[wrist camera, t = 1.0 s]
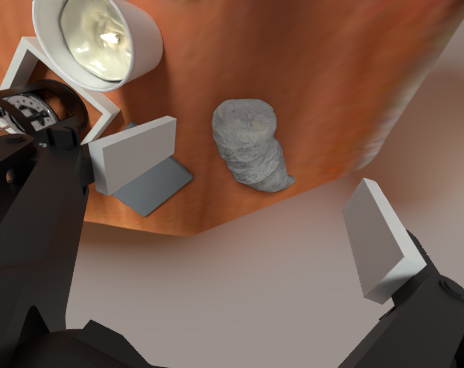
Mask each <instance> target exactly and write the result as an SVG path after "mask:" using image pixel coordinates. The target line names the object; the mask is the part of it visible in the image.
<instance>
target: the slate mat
mask: <svg viewBox="0 0 464 368" xmlns="http://www.w3.org/2000/svg"><path fill="white" fill-rule="evenodd" d="M136 126H138V125H137V124H136V123H135V122H134V121H132V122H130V124H129V125H128V126H127V127H126V128H125V129H124V130H127V129H130V128H133V127H136ZM193 177H194V176H193V175H192V174H191V173H190V172H189V171H188V170H187V169H186V168H185V167H183V166H182V165H181V164H180V163H179V162H178V161H177V160H176V159H175V158H173V157H172V156H169V157H168V158H166V159H164V160H163V161H161V162H160V163H158V164H157V165H155V166H154V167H152V168H151V169H149V170H148V171H146V172H144V173H143V174H141V175H140V176H138V177H137V178H135V179H134V180H132V181H131V182H129V183H128V184H126V185H124V186H123V187H121V188H120V189H118V190H117V191H115V192H114V193H112V195H113V196H115V197H116V198H118V199H119V200H120V201H122V202H123V203H125V204H126V205H127V206H129V207H130V208H132V209H133V210H134V211H136V212H137V213H139V214H140V215H141V216H143V217H145V216H147V215H148V214H149V213H150V212H152V211H153V210H154V209H155V208H157V207H158V206H159V205H160V204H162V203H163V202H164V201H165V200H167V199H168V198H169V197H170V196H172V195H173V194H174V193H175V192H177V191H178V190H179V189H180V188H182V187H183V186H184V185H185V184H187V183H188V182H189V181H190V180H192V179H193Z"/></svg>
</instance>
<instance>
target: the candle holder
mask: <svg viewBox="0 0 464 368" xmlns="http://www.w3.org/2000/svg"><path fill="white" fill-rule="evenodd" d="M32 18H33V24H34V29H35V32H36V35H37V38H38V40H39V43H40V45H41V47H42V49H43V51H44V52H45V54H46V56H47V57H48V59H49V60H50V61H51V63H52V64H53V65H54V66H55V67H56V69H57V70H58V71H59V72H60V73H61V74H63V75H64V76H65V77H66V78H67V79H69V80H70V81H71V82H73V83H74V84H76V85H78V86H80V87H82V88H84V89H87V90H90V91H94V92H109V91H113V90H116V89H118V88H119V87H121V86H122V85H124V84H126V83H128V82H130V81H132V80H134V79H136V78H138V77H140V76H142V75H144V74H146V73H148V72H150V71H152V70H153V69H154V68H156V67H157V65H158V64H159V62H160V60H161V58H162V54H163V41H162V36H161V33H160V30H159V28H158V26H157V24H156V23H155V21H154V20H153V19H152V18H151V16H150V15H149V14H148V13H146V12H145V11H144V10H142V9H141V8H139V7H138V6H136V5H134V4H132V3H130V2H128V1H126V0H33V4H32Z"/></svg>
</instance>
